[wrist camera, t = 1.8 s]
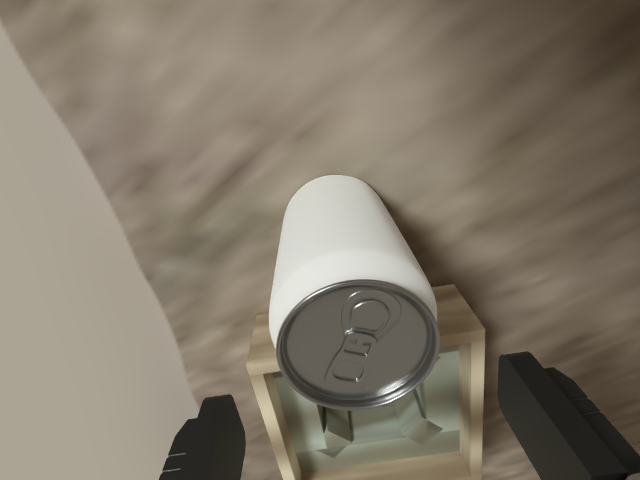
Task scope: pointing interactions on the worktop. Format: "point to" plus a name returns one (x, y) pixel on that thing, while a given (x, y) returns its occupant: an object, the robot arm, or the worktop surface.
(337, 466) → the bore box
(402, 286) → the can
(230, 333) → the worktop surface
